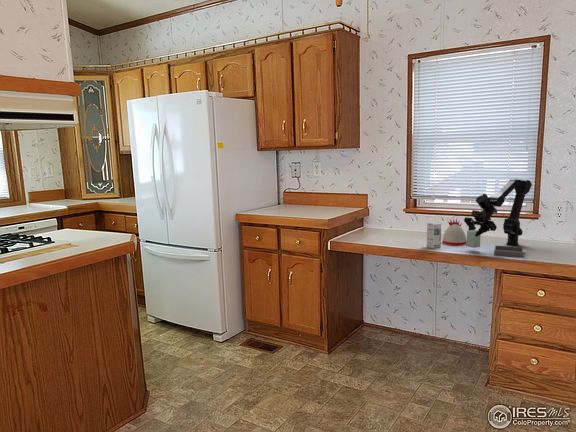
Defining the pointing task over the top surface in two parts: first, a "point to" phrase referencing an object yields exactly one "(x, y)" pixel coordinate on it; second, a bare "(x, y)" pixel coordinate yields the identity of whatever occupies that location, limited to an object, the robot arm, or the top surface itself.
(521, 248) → the tray
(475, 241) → the sage block
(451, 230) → the cream dome with spikes
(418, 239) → the top surface
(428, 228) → the syrup box
